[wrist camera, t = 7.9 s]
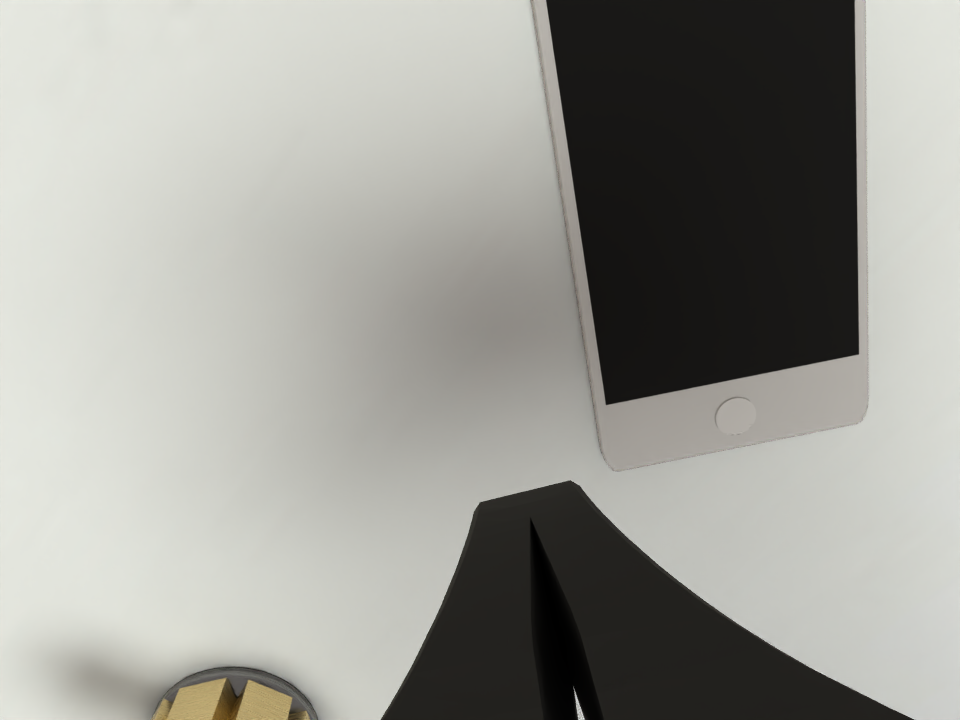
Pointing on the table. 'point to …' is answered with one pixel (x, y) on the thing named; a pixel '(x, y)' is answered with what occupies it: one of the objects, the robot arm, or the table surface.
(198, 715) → the ring nut
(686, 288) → the smartphone
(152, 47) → the table surface
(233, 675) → the base
